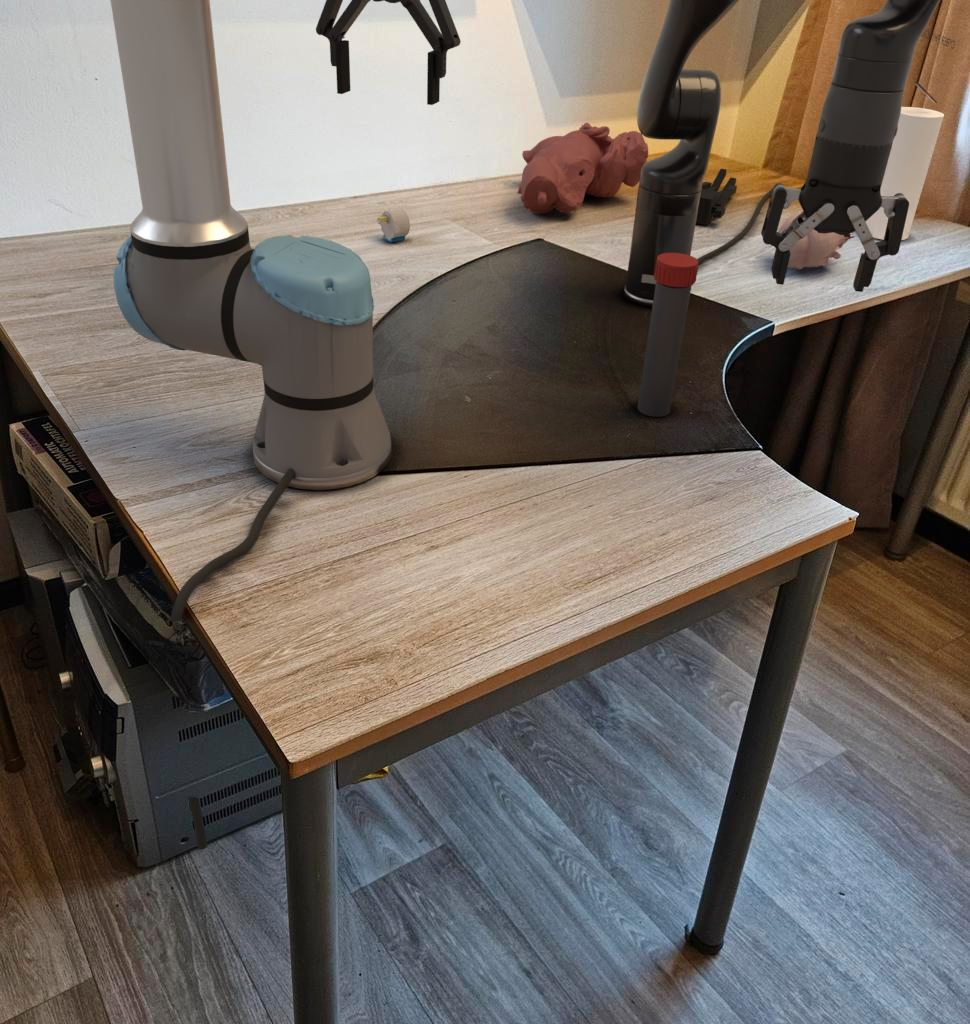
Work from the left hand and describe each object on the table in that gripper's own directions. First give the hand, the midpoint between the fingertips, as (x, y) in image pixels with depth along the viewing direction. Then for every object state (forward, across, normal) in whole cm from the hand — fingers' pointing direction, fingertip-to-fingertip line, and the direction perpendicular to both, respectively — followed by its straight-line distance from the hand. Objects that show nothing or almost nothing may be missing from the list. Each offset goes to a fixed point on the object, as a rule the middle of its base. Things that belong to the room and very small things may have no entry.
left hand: (388, 97), depth 135 cm
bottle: (+28, -46, +23) cm, 59 cm away
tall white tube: (+28, -73, -67) cm, 103 cm away
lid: (+9, -46, +23) cm, 52 cm away
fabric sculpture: (+28, -15, -57) cm, 65 cm away
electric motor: (+28, +9, -21) cm, 36 cm away
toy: (+28, -60, -41) cm, 78 cm away
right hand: (+10, -62, +22) cm, 66 cm away
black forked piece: (+28, -40, -70) cm, 85 cm away
